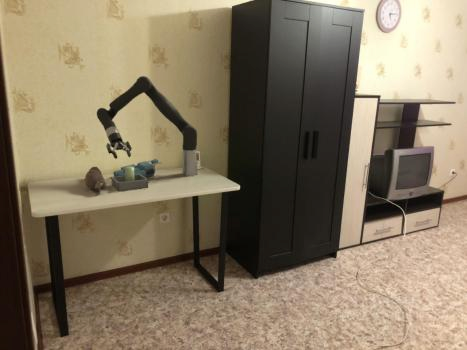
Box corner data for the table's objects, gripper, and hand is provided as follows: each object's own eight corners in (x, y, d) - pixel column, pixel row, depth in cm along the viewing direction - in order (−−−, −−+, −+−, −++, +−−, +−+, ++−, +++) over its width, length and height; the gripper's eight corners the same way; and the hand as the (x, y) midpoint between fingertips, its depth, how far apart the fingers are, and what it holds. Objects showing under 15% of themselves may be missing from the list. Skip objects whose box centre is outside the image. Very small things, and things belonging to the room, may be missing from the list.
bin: (140, 181, 233) (139, 174, 232) (148, 187, 221) (147, 179, 220) (112, 185, 224) (111, 177, 223) (118, 191, 212) (118, 183, 211)
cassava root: (88, 199, 202) (107, 197, 207) (87, 180, 199) (107, 179, 203) (80, 175, 236) (97, 174, 241) (80, 158, 233) (97, 158, 237)
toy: (109, 165, 245) (152, 155, 261) (112, 178, 248) (154, 167, 264) (121, 173, 228) (165, 161, 243) (123, 186, 230) (167, 174, 246)
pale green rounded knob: (133, 183, 226) (132, 166, 224) (135, 185, 222) (135, 167, 219) (124, 184, 223) (123, 166, 221) (127, 186, 219) (126, 168, 217)
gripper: (104, 132, 222) (113, 154, 216) (126, 131, 231) (136, 152, 226) (101, 140, 227) (110, 162, 222) (122, 138, 236) (132, 159, 231)
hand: (123, 157), depth 224 cm, fingers open, 8 cm apart
